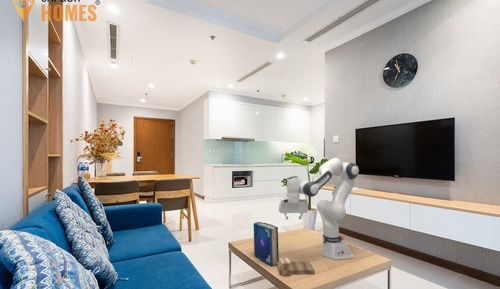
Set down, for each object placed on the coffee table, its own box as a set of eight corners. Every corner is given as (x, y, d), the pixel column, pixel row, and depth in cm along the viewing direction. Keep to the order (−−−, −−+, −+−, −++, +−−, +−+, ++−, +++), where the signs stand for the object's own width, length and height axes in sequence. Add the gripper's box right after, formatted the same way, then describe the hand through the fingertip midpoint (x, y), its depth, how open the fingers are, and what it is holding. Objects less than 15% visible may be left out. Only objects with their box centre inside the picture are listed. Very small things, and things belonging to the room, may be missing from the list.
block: (288, 269, 150) (288, 258, 151) (290, 275, 143) (290, 263, 143) (280, 269, 150) (280, 258, 150) (282, 275, 143) (282, 263, 143)
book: (252, 255, 172) (252, 221, 173) (260, 253, 176) (259, 220, 177) (271, 267, 154) (271, 229, 156) (279, 264, 159) (278, 227, 160)
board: (309, 265, 157) (309, 261, 157) (314, 274, 145) (314, 270, 145) (276, 265, 156) (276, 261, 157) (279, 274, 144) (279, 270, 145)
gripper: (306, 198, 168) (307, 217, 167) (278, 198, 168) (278, 218, 167) (309, 200, 162) (309, 220, 161) (279, 200, 161) (280, 220, 161)
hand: (293, 219), depth 164 cm, fingers open, 8 cm apart
